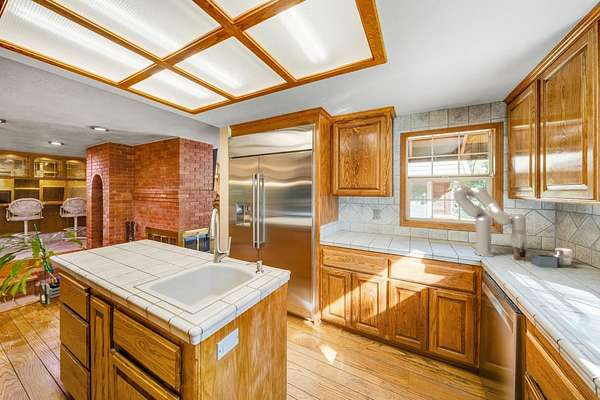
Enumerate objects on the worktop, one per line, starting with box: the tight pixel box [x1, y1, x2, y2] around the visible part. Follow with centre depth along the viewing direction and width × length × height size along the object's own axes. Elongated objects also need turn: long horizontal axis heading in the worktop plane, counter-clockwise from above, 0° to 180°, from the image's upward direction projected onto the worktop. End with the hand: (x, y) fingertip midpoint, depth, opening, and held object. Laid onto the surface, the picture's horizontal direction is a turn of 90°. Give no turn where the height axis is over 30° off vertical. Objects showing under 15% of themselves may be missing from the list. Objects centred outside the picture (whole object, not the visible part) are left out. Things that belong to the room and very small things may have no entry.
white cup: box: [554, 247, 573, 266], centre depth 157 cm, size 8×8×10 cm
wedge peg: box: [513, 247, 525, 262], centre depth 167 cm, size 3×5×10 cm, turn 76°
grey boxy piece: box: [530, 250, 570, 269], centre depth 152 cm, size 9×18×11 cm, turn 76°
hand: (518, 255), depth 167 cm, fingers open, 6 cm apart
